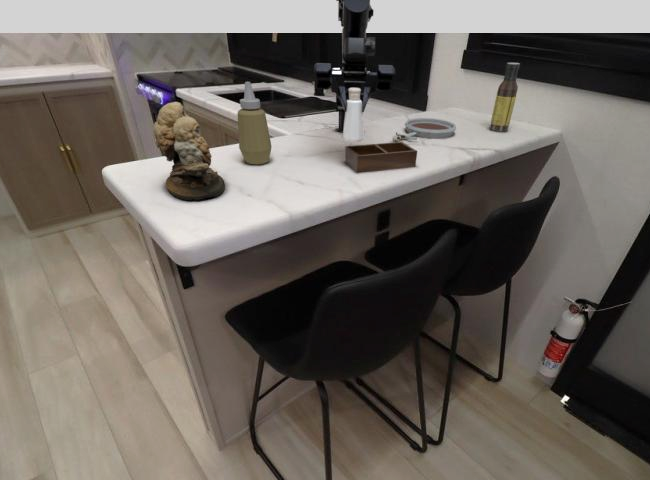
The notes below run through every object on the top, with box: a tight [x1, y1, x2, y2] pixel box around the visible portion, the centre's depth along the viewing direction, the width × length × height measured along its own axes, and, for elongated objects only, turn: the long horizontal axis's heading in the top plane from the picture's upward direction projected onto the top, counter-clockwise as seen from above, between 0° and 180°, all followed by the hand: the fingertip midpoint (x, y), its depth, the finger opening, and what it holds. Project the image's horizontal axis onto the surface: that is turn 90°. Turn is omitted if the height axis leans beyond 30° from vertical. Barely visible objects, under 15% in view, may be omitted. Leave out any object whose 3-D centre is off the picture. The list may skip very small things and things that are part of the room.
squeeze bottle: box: [237, 81, 272, 165], centre depth 92 cm, size 8×8×18 cm
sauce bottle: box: [489, 62, 521, 133], centre depth 125 cm, size 6×6×20 cm
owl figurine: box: [152, 101, 226, 201], centre depth 78 cm, size 18×12×17 cm, turn 34°
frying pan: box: [391, 117, 457, 142], centre depth 122 cm, size 17×3×28 cm
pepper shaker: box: [342, 88, 365, 143], centre depth 90 cm, size 5×5×11 cm
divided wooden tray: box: [344, 141, 418, 174], centre depth 98 cm, size 9×16×4 cm, turn 111°
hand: (354, 110), depth 88 cm, fingers closed on pepper shaker, 4 cm apart
